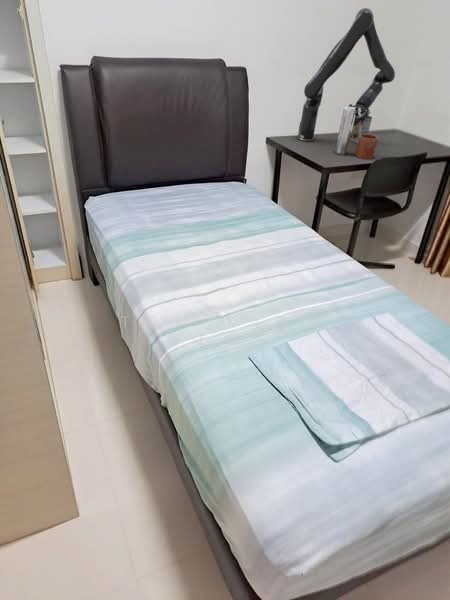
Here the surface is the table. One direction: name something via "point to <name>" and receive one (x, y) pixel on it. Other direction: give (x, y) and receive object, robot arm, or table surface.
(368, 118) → the coffee box
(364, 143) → the cup
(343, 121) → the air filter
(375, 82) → the robot arm
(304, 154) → the table surface
